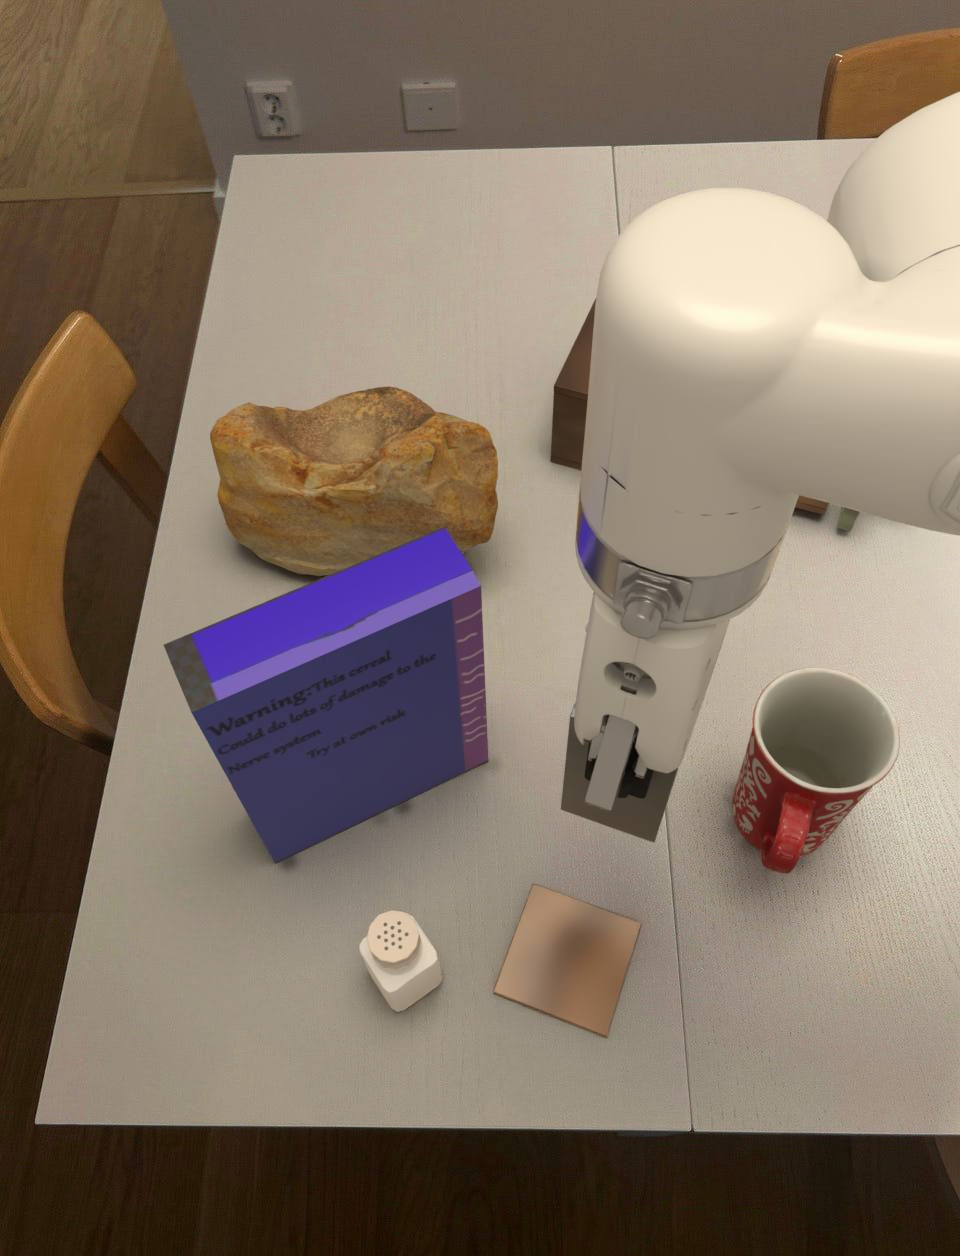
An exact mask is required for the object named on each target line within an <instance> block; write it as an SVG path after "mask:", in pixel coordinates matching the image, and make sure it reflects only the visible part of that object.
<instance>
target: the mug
mask: <svg viewBox="0 0 960 1256" xmlns="http://www.w3.org/2000/svg"><path fill="white" fill-rule="evenodd" d="M900 745H901V737H900V730H899V725H898V721H897V720H896V717H895V715H894V712H893V710H892V709H891V707H890V706H889V704H888V703H887V701H886V700H885V699H884V698H883V697H882V696H881V694H880V693H878V692H877V691H876V689H875V688H873V687H871V686H870V685H869V684H868V683H866V682H865V681H864V680H861V679H859V678H858V677H856V676H854V675H852V674H850V673H847V672H844V671H842V670H838V669H834V668H828V667H819V666H813V667H812V666H811V667H802V668H797V669H793V670H791V671H790V670H789V671H788V672H785V673H782V674H781V675H779V676H778V677H776V678H775V679H773V680H771V681H770V682H769V683H768V685H766V686H765V687H764V689H763V690H762V691H761V693H760V694H759V696H758V698H757V700H756V702H755V705H754V708H753V714H752V727H751V731H750V734H749V738H748V741H747V745H746V751H745V754H744V757H743V760H742V763H741V767H740V771H739V773H738V774H739V775H738V778H737V782H736V784H735V788H734V791H733V796H732V804H731V805H732V814H733V819H734V821H735V824H736V826H737V828H738V830H739V832H740V833H741V835H742V836H743V837H744V838H745V839H746V841H747V842H749V844H751V845H752V846H753V847H755V848H756V849H758V850H760V861H761V865H763V867H764V868H766V869H768V870H770V871H773V872H776V873H780V874H786V875H788V874H790V873H792V872H793V870H794V869H795V867H796V866H797V865H798V862H799V860H800V859H801V857H804V856H806V855H807V856H808V855H810V854H811V853H813V852H815V851H816V850H818V849H819V848H820V847H821V846H822V845H823V844H824V843H825V842H826V841H827V840H828V839H829V838H830V837H831V835H832V834H833V833H834V832H835V830H836V829H837V828H838V827H839V825H841V823H842V822H843V821H844V820H845V819H846V817H848V816H849V814H850V813H851V812H852V810H853V809H854V808H855V807H856V806H857V805H858V804H859V803H860V802H861V801H862V800H863V798H865V796H866V795H867V794H868V792H870V790H872V788H873V787H875V785H877V784H878V783H880V782H881V781H882V780H884V778H885V777H886V776H888V774H889V773H890V772H891V770H892V769H893V767H894V766H895V763H896V761H897V759H898V756H899V752H900V748H901V747H900Z"/></svg>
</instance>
